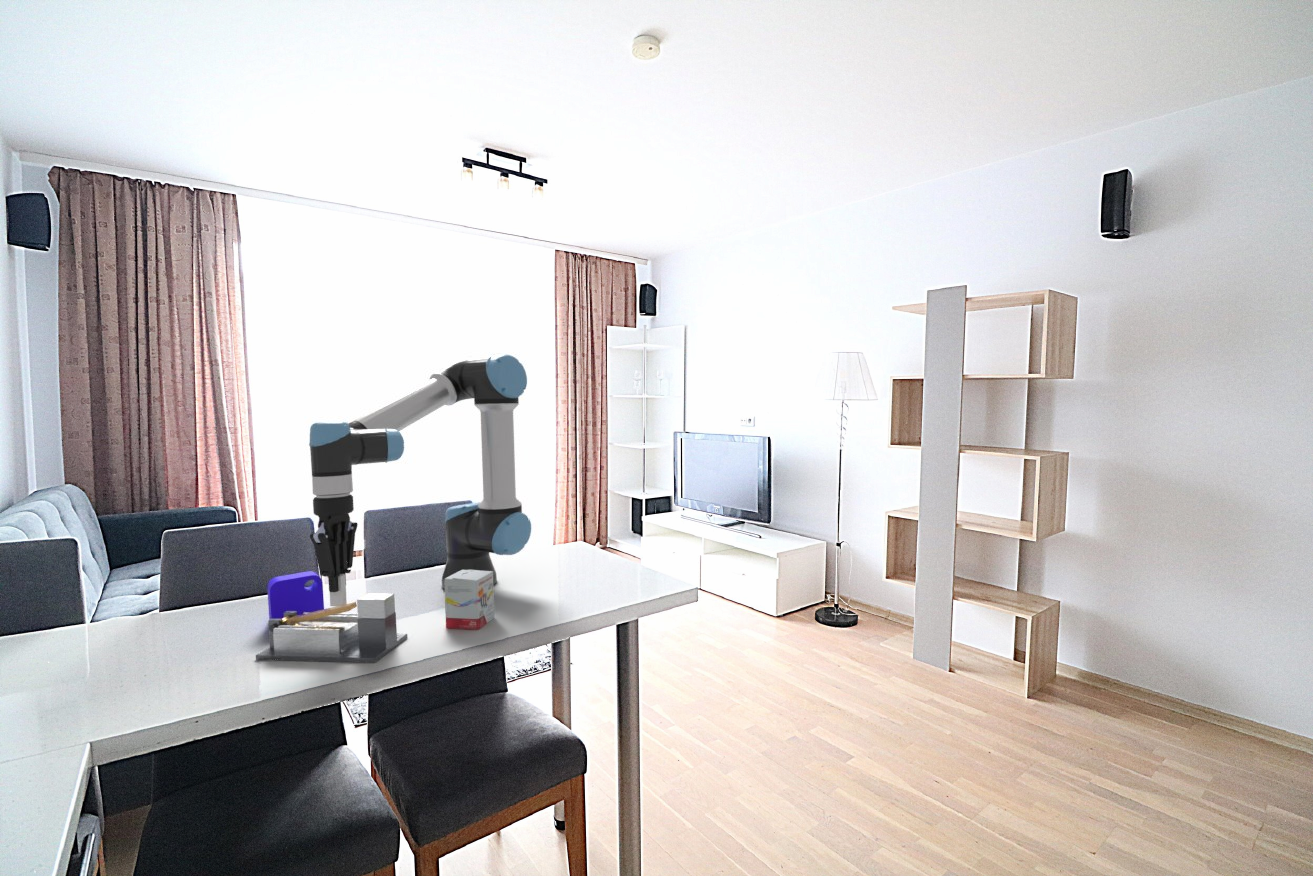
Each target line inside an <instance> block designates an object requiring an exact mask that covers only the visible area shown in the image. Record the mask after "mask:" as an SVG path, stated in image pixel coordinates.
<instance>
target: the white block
mask: <svg viewBox="0 0 1313 876" xmlns="http://www.w3.org/2000/svg"><path fill="white" fill-rule="evenodd" d="M395 602H396V601H395V593H374V592H373V593H369V592H368V593H366V594H364V595H363V596H361V597H359V598H357V599H356V604H357V607H356V608H357V613H358V618H376V619H385V618H387V617H388V616H390V615H391V614H393V613H394V612H396V606H395V605H396V604H395Z"/></svg>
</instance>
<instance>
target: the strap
mask: <svg viewBox="0 0 1313 876" xmlns="http://www.w3.org/2000/svg"><path fill="white" fill-rule="evenodd" d="M355 608H357V601H354V602H348V603H347V604H346V605H344V606H331V607H328V608H324V609H323V610H319V611H315V612H310V613H306V614H302V615H298V616H293V617H290V616H286V617H284V618H282V625H291V624H295V623H300V622H304V621H308V620H313V619H317V618H321V617H326V616H330V615H334V614H339V613H348V612H349V611H352V610H353V609H355Z"/></svg>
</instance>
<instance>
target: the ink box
mask: <svg viewBox="0 0 1313 876" xmlns="http://www.w3.org/2000/svg"><path fill="white" fill-rule="evenodd" d="M444 585H445V589H444V604H445V613H444V614H445V628H446V629H453V630H454V629H456V630H477V631H478V630H480V629H481V628H482V627H484V626H485V625H487V623H489V622H491V621H492V620H493V619H495V603H494V602H495V601H494V600H495V599H494V597H495V596H494V595H495V594H494V584H493V571H480V570H461V571H459V572H457V573H455V574H453V575H451V576H449V577H447V578H445V580H444Z"/></svg>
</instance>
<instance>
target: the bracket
mask: <svg viewBox="0 0 1313 876" xmlns="http://www.w3.org/2000/svg"><path fill="white" fill-rule="evenodd" d="M309 581H313V583H312V584H311V585H310V586H305V585H306V583H307V582H309ZM266 587H267V601H268V602H267V605H268V620H270V619H282V618H284V612H286V611H297V616H298V615H302V614H303V613H310V612H315V611H319V610H323V609H325V601H324V600H325V599H324V585H323V579H322V578H321V577H320V576H319V574H317V573H316V572H315V571H312V570H310V571H309V570H307V571H304V572H297V573H296V572H295V573H292V574H285V575H279V576H275V577H273V578H271V579H270V580H269V581H268V583H267V586H266Z"/></svg>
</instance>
